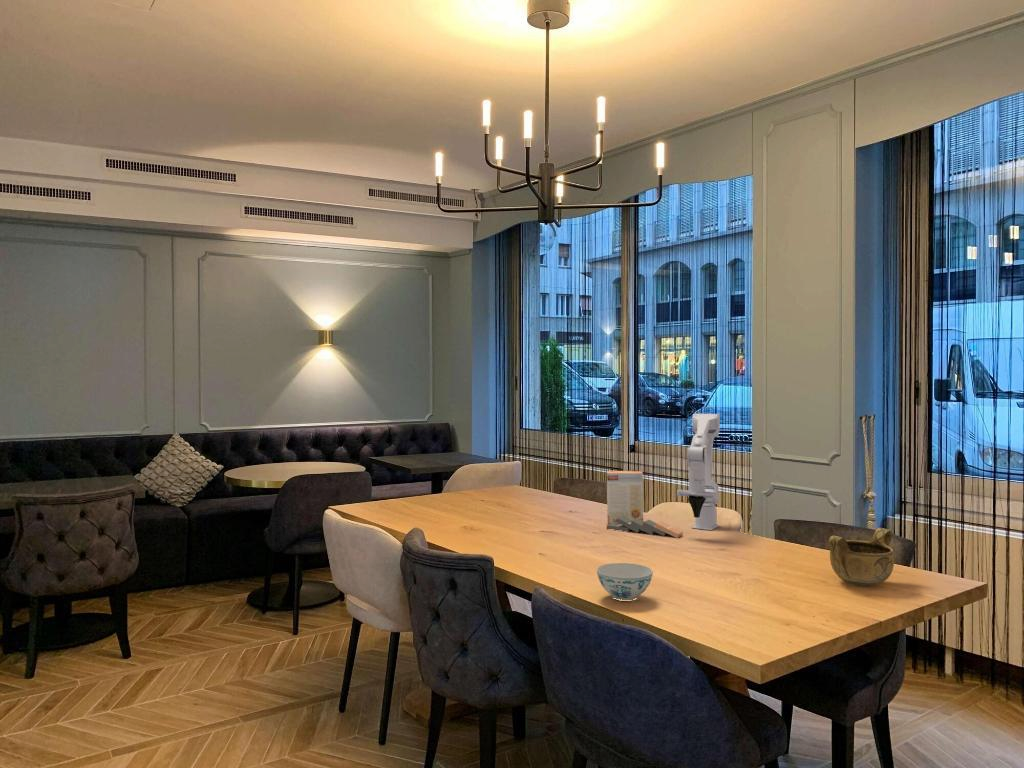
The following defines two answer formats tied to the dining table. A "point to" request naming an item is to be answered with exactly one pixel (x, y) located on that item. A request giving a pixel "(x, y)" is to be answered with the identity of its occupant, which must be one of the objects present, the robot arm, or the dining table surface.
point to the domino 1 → (627, 524)
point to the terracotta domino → (669, 529)
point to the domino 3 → (653, 527)
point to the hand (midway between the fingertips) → (696, 517)
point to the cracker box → (624, 495)
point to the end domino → (617, 527)
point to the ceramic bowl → (863, 559)
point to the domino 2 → (639, 523)
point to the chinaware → (624, 579)
